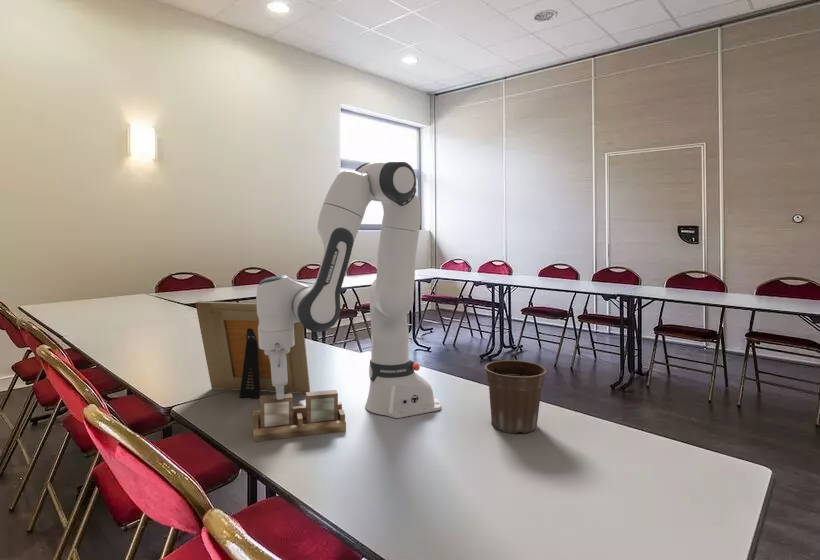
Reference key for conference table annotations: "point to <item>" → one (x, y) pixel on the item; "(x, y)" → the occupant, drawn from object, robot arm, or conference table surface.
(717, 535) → the conference table surface
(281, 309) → the robot arm
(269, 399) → the walnut frame
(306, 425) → the oak rail
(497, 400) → the plant pot
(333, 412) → the frame
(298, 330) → the picture frame
